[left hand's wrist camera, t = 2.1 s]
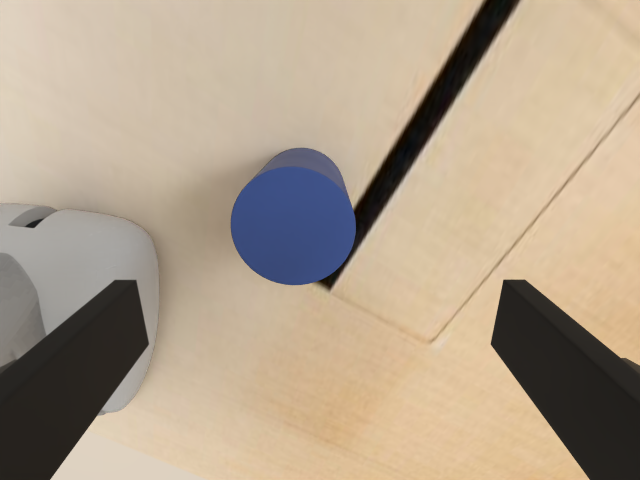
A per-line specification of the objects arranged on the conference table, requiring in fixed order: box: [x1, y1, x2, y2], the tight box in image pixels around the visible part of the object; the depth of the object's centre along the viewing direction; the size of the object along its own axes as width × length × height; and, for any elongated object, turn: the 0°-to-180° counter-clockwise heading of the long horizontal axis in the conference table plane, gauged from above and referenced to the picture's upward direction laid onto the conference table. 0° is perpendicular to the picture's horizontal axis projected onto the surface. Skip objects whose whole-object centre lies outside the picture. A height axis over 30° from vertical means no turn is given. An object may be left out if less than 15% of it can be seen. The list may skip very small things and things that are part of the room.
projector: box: [0, 203, 160, 416], centre depth 29 cm, size 22×23×15 cm
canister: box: [231, 148, 356, 285], centre depth 27 cm, size 8×8×11 cm
